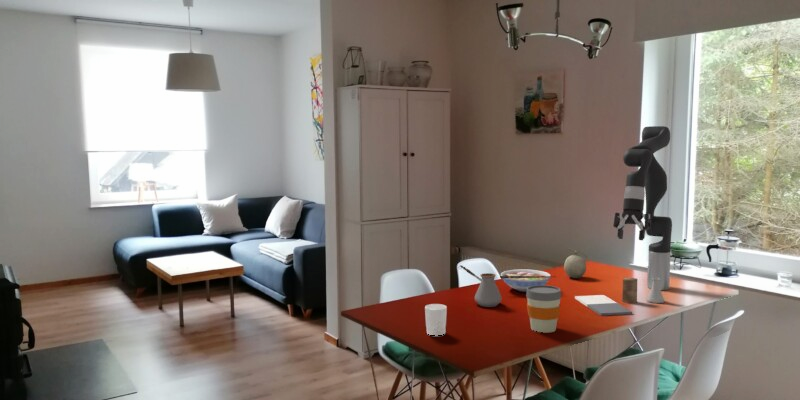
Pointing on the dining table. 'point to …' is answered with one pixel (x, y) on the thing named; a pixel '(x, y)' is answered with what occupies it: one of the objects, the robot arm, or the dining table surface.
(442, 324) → the white cup
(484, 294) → the coffee pot
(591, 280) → the dining table surface
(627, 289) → the block
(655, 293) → the flask
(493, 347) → the dining table surface
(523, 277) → the ramen bowl
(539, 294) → the reusable coffee cup
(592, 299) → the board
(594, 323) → the dining table surface
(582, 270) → the fruit
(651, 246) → the robot arm
